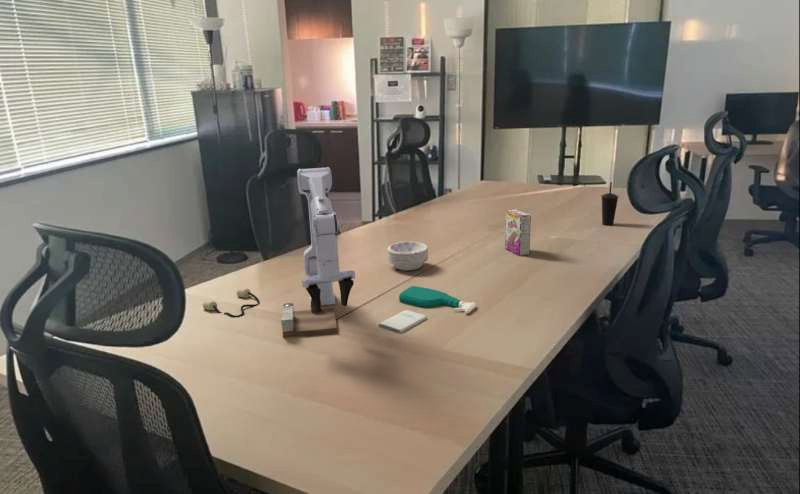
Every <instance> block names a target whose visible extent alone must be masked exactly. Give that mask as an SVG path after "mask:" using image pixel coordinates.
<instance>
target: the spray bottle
mask: <svg viewBox="0 0 800 494" xmlns="http://www.w3.org/2000/svg"><path fill="white" fill-rule="evenodd" d="M398 300H399V302H402V303H403V304H408V305H411V306H414V307H420V308H433V307H438V306H443V305H444V306H449V307H453V310H454V311H463V313H464V314H465V315H468V314H469V313H471V312H472V311H473V310H474V309H476V303H475V302H473V301H472V302H468V301H467V302H466V301H462V300H460V299H458V298H457V297H454V296H452V295H450V294H448V293H446V292H443V291H440V290H437V289H432V288H427V287H423V286H416V285H411V286H410V287H408V288H406V289H405V290H403V291H401V292H400V294H399V297H398ZM453 310H452V311H453Z"/></svg>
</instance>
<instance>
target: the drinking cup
mask: <svg viewBox="0 0 800 494" xmlns="http://www.w3.org/2000/svg"><path fill="white" fill-rule="evenodd" d="M612 183H613V182H612V181H610V182H609V192H608V193H603V194H601V196H600V198H601V220H602V221H601V222H602V223H601V224H602V225H603V226H605V227H606V226H614V221H615V217H616V210H617V205H618V201H619V195H617V194H615V193H612V186H613V185H612Z"/></svg>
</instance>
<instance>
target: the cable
mask: <svg viewBox="0 0 800 494" xmlns="http://www.w3.org/2000/svg"><path fill="white" fill-rule="evenodd" d="M236 296H238V298H243V299H247V298H249V297H250V296H251V297H252V298H253V299H255V300H256V302H257V303H255V304H250V303H249V304H243V305H241V307H240V312H241V314H238V315H237V314H235V315H234V314H231V313H230V312H222V311H221V310H219V309H218V303H217V302H216V301H215V300H205V301H204V302H203V304H202V308H203V309H204V310H205V309H207V310H206V311H209V310H214V311H215V312H216V313H218V312H219V313H224V314H223V315H226V314H227V315H226V316H229V317H231V318H234V317H237V318H240V316H241V317H243V316H244V315H245V311H244V308H246V307H247V308H248V307H249V308H250V307H251V308H253V307H257V306H259V305H260V304H261V302H260V299H259V298H258V296H257V295H255V294H253V293H252V292H251V290H250V288H248V287H247V288H246V287H244V288H243V287H239V288H238V289H237V292H236ZM219 313H218V314H219Z"/></svg>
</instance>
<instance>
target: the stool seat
mask: <svg viewBox="0 0 800 494" xmlns="http://www.w3.org/2000/svg"><path fill="white" fill-rule="evenodd" d="M320 305H321V298H320ZM321 306H322V305H321ZM337 328H338V327H337V319H336V310H335V307H327V308H321V312H317V311H316V310H315V306H314V303H313V301H312V299H311V306H310V309H305V310H294V330H293V331H286V332H282V339H285V338H296V337H305V336H306V337H307V336H315V335H326V334H329V335H330V334H337V333H338V329H337Z"/></svg>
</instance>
